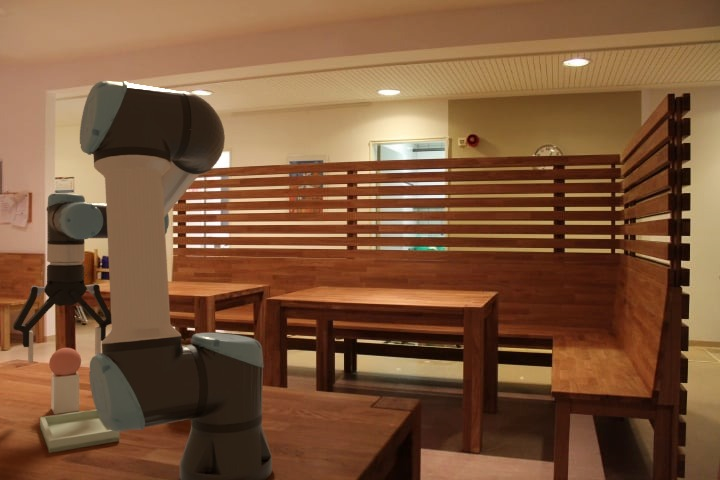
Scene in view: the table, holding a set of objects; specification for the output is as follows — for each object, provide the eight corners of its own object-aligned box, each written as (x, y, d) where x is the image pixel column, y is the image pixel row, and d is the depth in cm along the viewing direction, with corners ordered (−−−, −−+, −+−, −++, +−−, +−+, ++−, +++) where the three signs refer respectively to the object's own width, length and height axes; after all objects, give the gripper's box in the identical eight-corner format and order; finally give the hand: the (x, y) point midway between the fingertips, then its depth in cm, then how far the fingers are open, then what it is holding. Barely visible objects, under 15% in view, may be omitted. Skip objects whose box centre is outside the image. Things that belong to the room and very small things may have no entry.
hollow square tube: (79, 410, 135) (79, 374, 135) (54, 414, 133) (54, 377, 133) (75, 405, 140) (75, 370, 140) (51, 408, 137) (51, 372, 137)
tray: (119, 441, 117) (119, 429, 117) (49, 452, 110) (49, 440, 110) (103, 418, 130) (103, 408, 130) (40, 427, 124) (40, 417, 124)
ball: (83, 377, 135) (83, 349, 135) (51, 381, 132) (51, 351, 132) (78, 372, 140) (78, 344, 140) (47, 375, 137) (47, 346, 137)
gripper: (121, 261, 146) (120, 349, 146) (-1, 263, 132) (-1, 360, 133) (128, 263, 139) (127, 356, 140) (1, 265, 126) (1, 368, 126)
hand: (65, 358), depth 136 cm, fingers open, 13 cm apart
